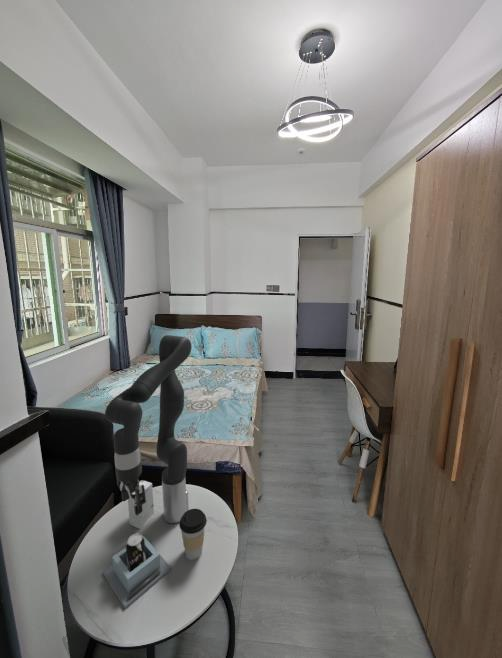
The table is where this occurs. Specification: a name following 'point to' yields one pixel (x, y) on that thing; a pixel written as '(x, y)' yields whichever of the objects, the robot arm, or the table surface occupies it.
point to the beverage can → (135, 551)
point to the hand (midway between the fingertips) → (132, 506)
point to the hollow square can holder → (135, 574)
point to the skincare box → (146, 507)
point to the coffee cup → (193, 532)
